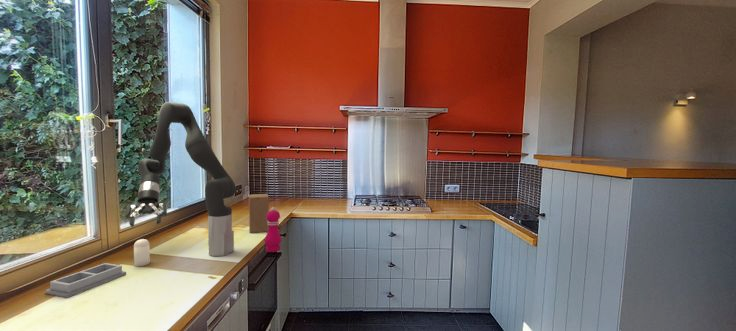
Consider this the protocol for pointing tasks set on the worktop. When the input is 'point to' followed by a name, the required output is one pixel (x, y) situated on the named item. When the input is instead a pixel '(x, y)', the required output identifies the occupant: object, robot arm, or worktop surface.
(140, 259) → the cream capsule shape
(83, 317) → the worktop surface
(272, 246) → the pepper mill
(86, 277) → the grey divided tray
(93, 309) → the worktop surface
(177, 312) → the worktop surface
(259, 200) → the wooden block
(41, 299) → the worktop surface
